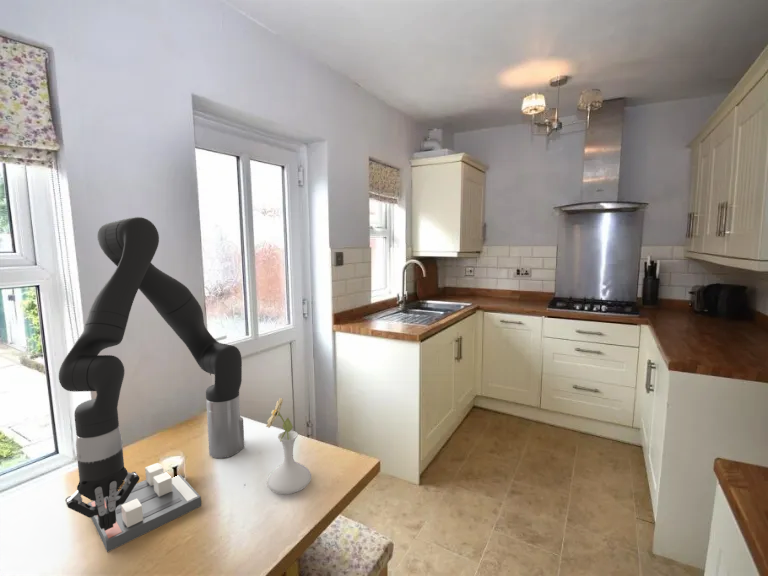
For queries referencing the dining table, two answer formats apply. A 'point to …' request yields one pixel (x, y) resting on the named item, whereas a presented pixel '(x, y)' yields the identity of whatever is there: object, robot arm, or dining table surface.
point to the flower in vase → (287, 461)
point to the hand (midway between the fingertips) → (107, 527)
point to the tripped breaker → (132, 512)
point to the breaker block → (149, 511)
